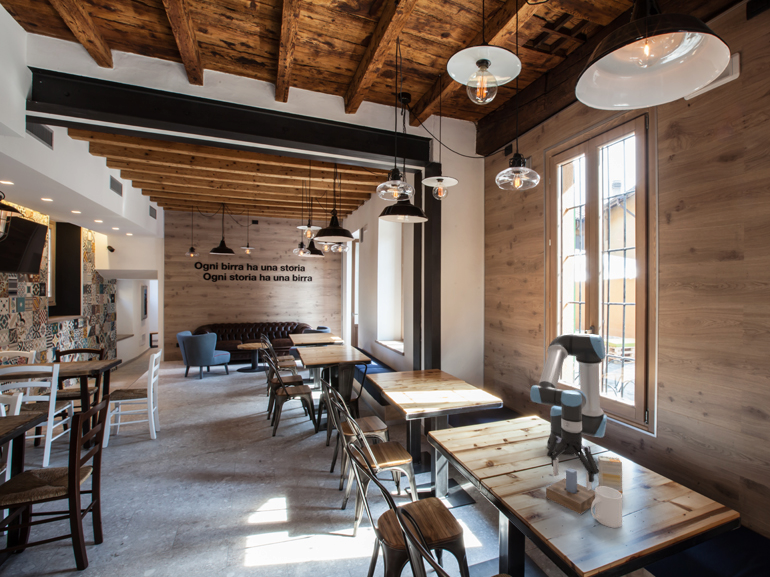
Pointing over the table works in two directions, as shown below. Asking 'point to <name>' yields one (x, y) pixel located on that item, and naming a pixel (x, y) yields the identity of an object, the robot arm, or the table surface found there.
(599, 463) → the supplement box
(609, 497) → the mug
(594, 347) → the robot arm
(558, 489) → the socket block
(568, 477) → the peg
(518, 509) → the table surface
